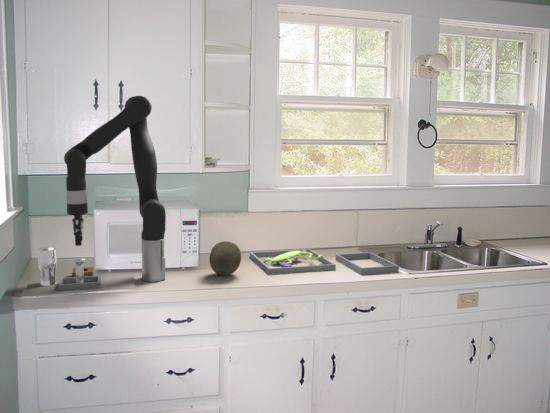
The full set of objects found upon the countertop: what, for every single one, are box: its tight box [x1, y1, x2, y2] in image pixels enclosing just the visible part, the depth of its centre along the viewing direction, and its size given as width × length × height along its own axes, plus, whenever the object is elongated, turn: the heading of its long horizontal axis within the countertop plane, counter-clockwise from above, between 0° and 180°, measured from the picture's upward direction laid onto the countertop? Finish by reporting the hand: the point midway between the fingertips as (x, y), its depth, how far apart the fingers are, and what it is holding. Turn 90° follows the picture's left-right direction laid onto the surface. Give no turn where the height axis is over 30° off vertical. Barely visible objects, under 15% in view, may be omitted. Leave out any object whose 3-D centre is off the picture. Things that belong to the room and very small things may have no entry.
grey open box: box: [249, 248, 337, 275], centre depth 250 cm, size 32×32×2 cm
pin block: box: [71, 266, 94, 277], centre depth 217 cm, size 8×8×4 cm
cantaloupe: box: [208, 241, 242, 277], centre depth 225 cm, size 14×14×15 cm
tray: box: [58, 275, 102, 291], centre depth 206 cm, size 15×10×3 cm, turn 108°
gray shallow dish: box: [335, 251, 400, 276], centre depth 247 cm, size 19×27×3 cm
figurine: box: [262, 250, 324, 268], centre depth 250 cm, size 18×27×6 cm
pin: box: [72, 257, 86, 283], centre depth 204 cm, size 4×4×11 cm
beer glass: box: [37, 246, 58, 287], centre depth 206 cm, size 7×7×15 cm
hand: (79, 243), depth 203 cm, fingers open, 8 cm apart
